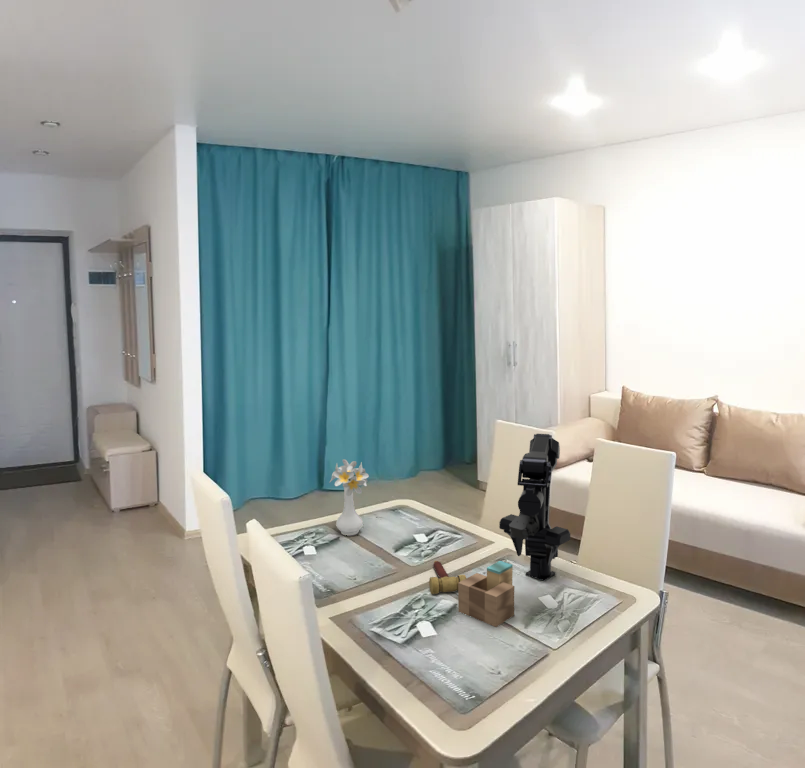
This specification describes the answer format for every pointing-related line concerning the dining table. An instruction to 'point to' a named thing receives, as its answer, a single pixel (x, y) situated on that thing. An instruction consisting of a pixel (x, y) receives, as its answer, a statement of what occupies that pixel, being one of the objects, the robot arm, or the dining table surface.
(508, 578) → the block
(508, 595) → the socket block
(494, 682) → the dining table surface
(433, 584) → the gavel
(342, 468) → the flower vase
